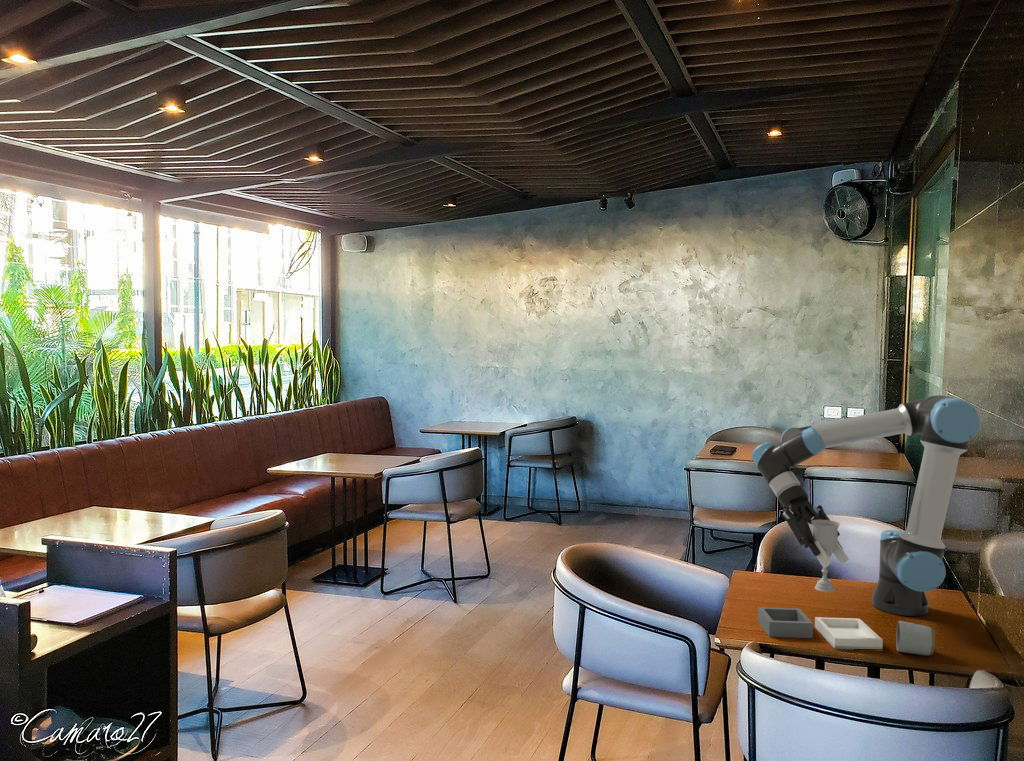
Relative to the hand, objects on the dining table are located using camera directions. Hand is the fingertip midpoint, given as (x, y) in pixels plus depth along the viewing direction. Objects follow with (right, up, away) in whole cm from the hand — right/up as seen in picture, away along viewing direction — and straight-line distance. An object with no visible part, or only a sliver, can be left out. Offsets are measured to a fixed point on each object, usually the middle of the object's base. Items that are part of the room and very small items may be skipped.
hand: (836, 563), depth 201 cm
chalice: (-2, -8, +4) cm, 9 cm away
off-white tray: (+4, -21, +2) cm, 21 cm away
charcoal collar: (-11, -20, +8) cm, 24 cm away
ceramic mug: (+17, -21, -5) cm, 28 cm away
